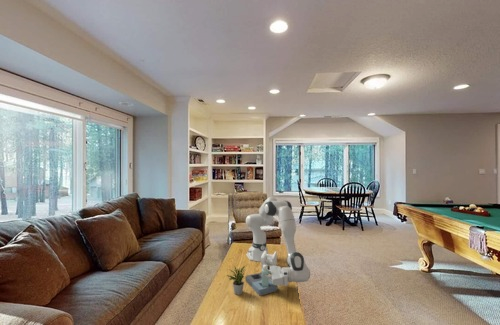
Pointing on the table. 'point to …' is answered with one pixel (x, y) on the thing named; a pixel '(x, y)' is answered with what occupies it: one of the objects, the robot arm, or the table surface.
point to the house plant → (237, 280)
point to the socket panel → (260, 284)
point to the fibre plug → (264, 272)
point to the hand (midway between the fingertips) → (263, 274)
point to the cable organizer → (268, 259)
